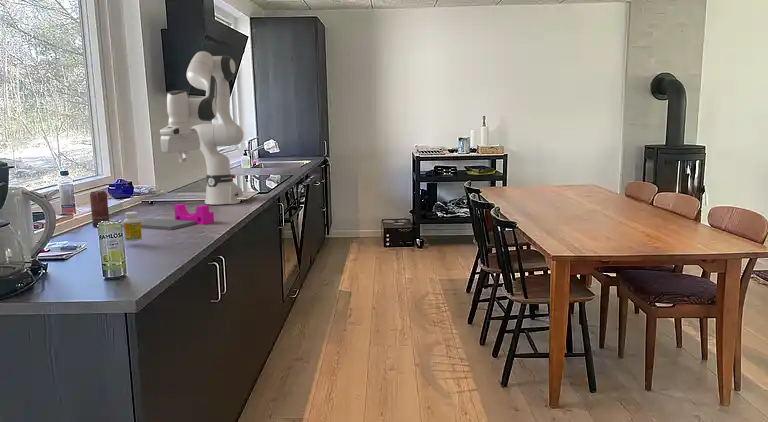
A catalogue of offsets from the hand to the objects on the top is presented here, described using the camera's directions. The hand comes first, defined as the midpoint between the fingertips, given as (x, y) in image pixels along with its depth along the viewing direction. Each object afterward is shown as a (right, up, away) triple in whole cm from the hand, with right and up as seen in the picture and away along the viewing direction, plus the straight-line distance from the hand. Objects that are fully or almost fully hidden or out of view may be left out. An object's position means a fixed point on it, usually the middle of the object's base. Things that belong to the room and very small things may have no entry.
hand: (182, 161), depth 247 cm
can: (-27, -27, -16) cm, 42 cm away
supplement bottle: (-1, -31, -46) cm, 56 cm away
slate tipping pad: (-4, -27, -16) cm, 31 cm away
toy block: (+8, -26, -10) cm, 29 cm away
